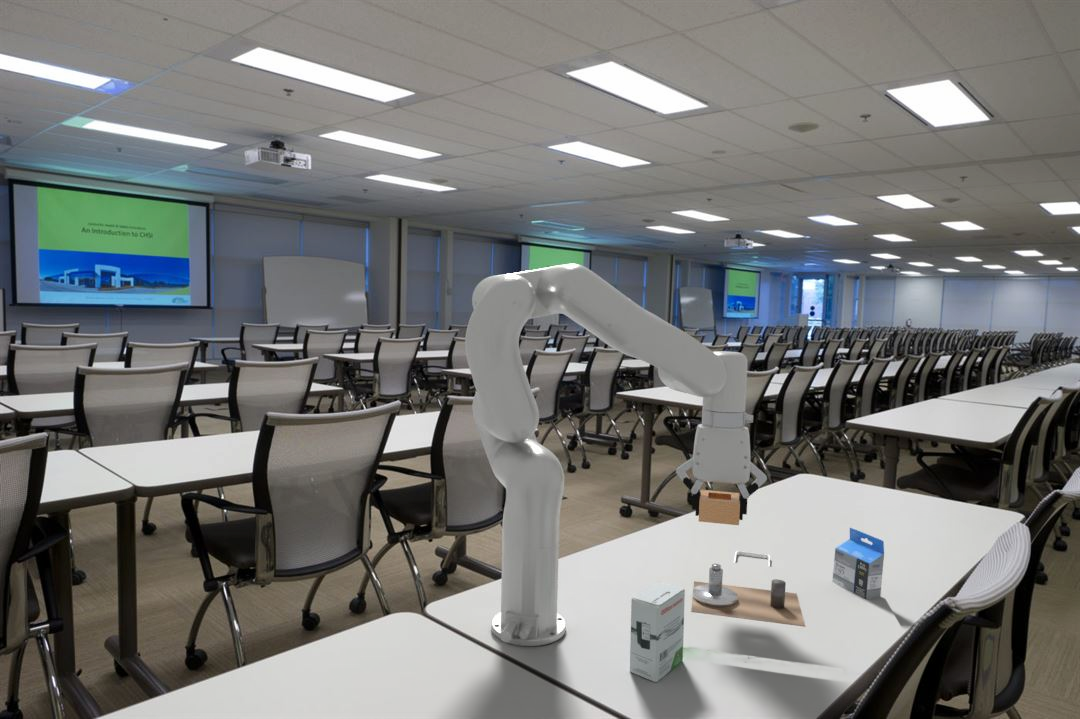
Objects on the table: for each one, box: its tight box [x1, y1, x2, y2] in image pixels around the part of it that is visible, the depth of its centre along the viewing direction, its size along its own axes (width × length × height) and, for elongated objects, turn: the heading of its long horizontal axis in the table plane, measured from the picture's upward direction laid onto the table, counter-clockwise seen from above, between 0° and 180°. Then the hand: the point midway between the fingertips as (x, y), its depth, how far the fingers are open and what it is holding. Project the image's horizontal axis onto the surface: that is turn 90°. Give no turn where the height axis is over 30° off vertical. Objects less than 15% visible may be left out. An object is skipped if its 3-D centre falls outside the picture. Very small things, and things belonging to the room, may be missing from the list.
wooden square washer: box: [698, 489, 740, 526], centre depth 129 cm, size 7×7×4 cm
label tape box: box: [832, 527, 885, 600], centre depth 136 cm, size 9×4×12 cm, turn 21°
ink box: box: [629, 581, 686, 683], centre depth 108 cm, size 9×5×12 cm, turn 141°
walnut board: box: [690, 578, 806, 627], centre depth 129 cm, size 14×19×6 cm
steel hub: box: [692, 563, 737, 608], centre depth 130 cm, size 8×8×6 cm
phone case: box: [733, 550, 771, 567], centre depth 150 cm, size 7×1×15 cm
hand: (718, 515), depth 129 cm, fingers closed on wooden square washer, 7 cm apart
